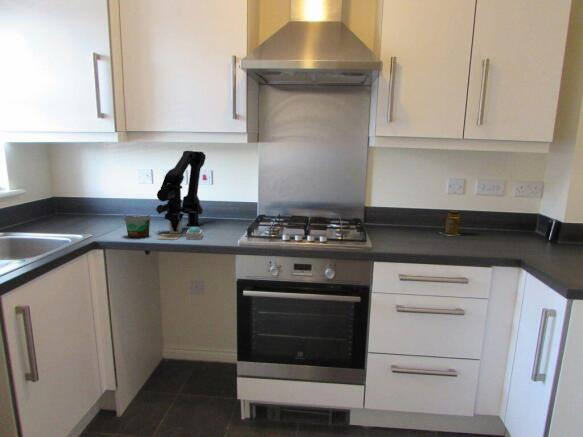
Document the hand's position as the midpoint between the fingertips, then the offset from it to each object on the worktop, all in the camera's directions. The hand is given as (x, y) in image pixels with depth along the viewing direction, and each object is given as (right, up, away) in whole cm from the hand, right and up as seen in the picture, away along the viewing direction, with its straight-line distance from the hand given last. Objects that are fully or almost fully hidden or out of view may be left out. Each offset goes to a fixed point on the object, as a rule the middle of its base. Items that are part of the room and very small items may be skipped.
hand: (175, 229), depth 182 cm
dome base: (+12, -3, -9) cm, 15 cm away
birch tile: (0, -3, -9) cm, 10 cm away
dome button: (+12, -2, -9) cm, 15 cm away
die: (0, -1, 0) cm, 1 cm away
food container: (-15, -3, -11) cm, 19 cm away
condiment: (+140, -3, +11) cm, 140 cm away
